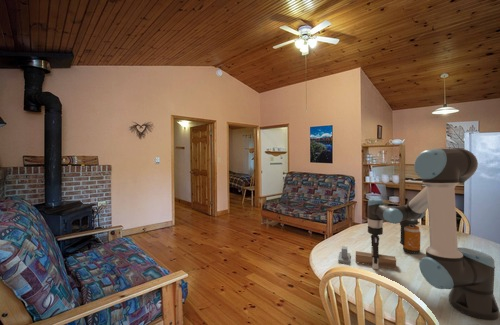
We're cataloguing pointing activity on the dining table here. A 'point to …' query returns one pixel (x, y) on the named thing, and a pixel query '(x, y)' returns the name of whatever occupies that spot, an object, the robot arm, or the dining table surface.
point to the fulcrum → (344, 256)
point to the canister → (410, 236)
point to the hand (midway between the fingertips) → (374, 263)
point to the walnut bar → (382, 260)
